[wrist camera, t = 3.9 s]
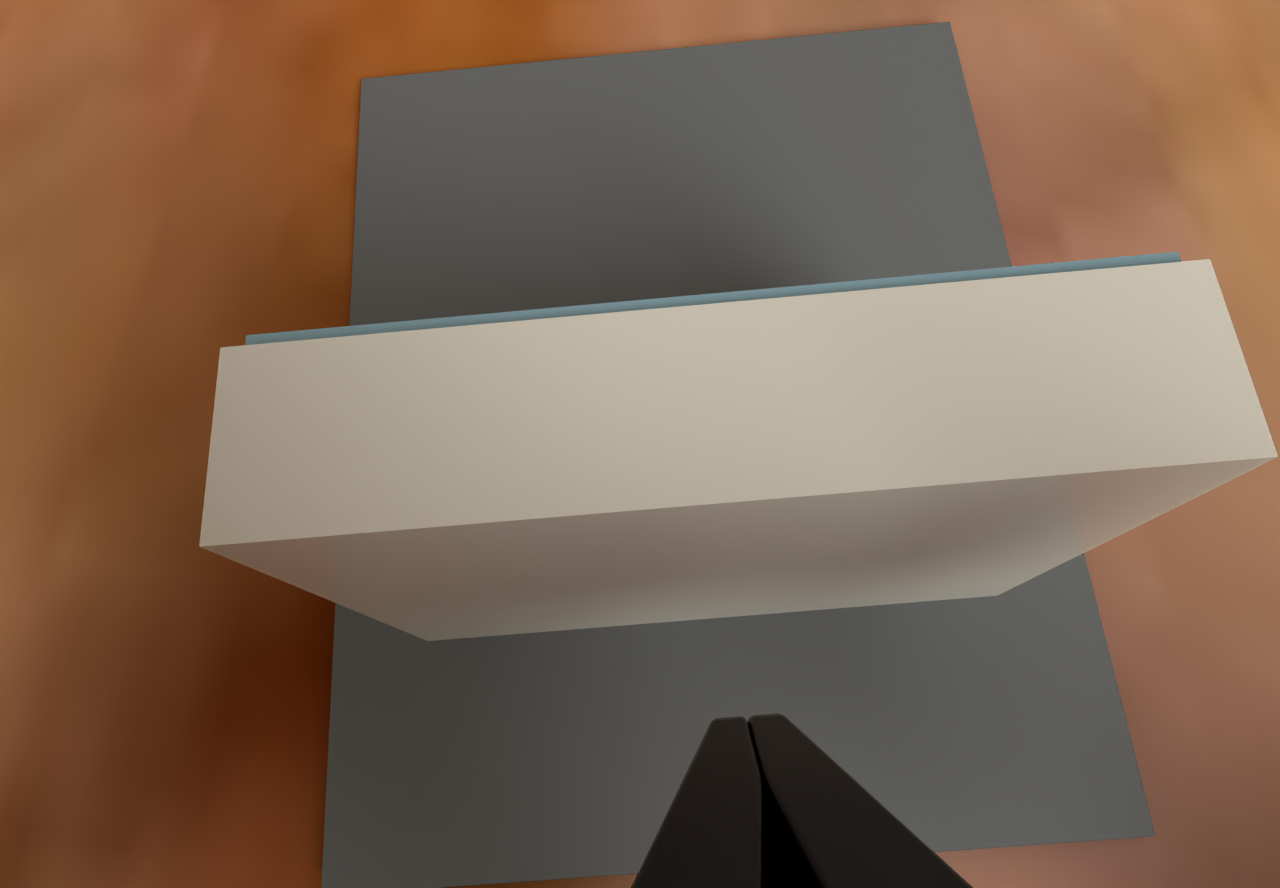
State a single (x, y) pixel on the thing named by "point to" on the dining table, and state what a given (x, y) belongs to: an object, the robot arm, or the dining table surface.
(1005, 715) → the mat
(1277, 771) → the dining table surface
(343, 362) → the tile
